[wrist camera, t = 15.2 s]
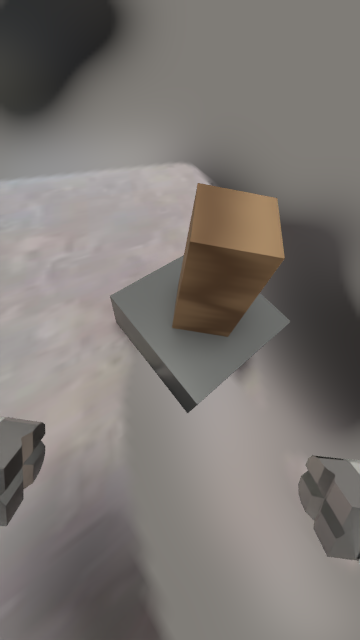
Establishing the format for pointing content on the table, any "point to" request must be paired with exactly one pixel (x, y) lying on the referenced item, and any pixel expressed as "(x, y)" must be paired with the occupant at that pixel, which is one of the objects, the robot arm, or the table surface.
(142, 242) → the table surface
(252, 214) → the oak block
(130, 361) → the table surface
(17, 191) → the table surface
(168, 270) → the block
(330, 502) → the robot arm
